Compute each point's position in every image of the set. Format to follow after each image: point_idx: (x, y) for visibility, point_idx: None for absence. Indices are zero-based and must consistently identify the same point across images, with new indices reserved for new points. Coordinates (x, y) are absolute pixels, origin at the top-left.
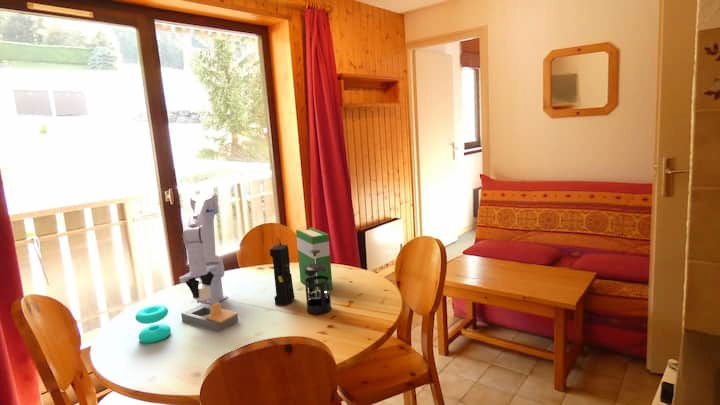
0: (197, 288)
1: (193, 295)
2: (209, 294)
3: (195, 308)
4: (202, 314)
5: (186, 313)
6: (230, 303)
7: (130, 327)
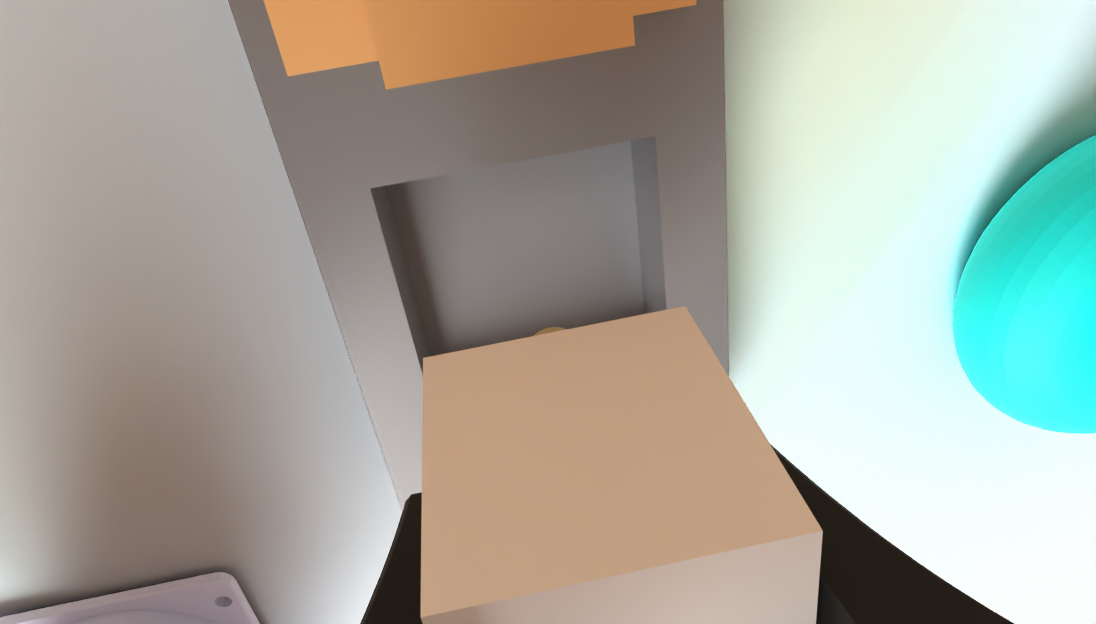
0: (881, 608)
1: None
2: (462, 403)
3: None
4: None
5: None
6: (14, 453)
7: None
